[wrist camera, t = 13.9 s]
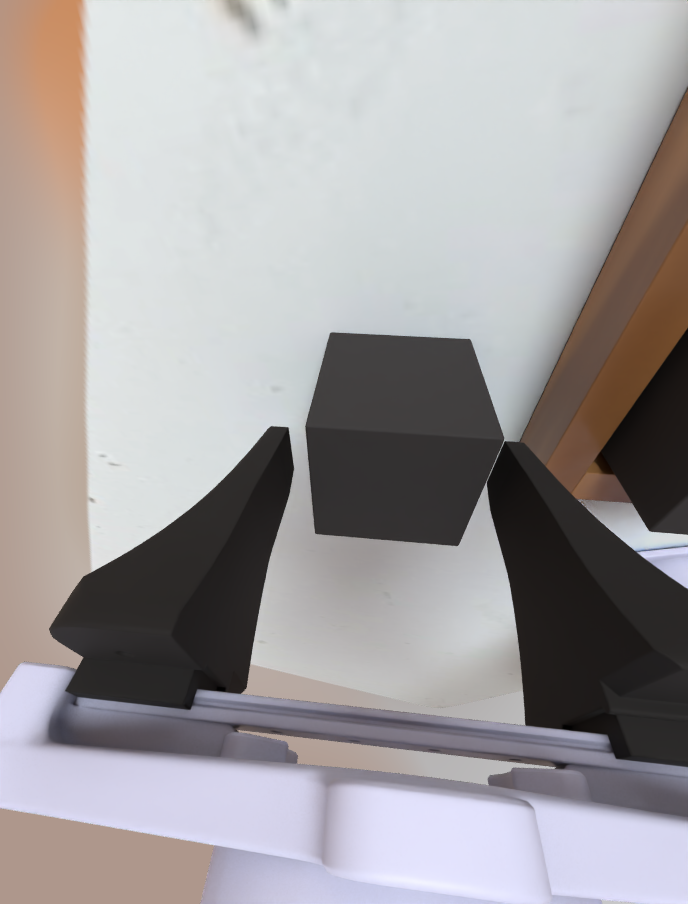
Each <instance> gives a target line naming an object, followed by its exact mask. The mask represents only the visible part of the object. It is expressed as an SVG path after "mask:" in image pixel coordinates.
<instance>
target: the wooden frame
mask: <svg viewBox="0 0 688 904" xmlns="http://www.w3.org/2000/svg"><path fill="white" fill-rule="evenodd" d="M687 328H688V89H687V92H686V94H685V96H684V98H683V100H682V102H681V104H680V106H679V108H678V110H677V113H676V115H675V117H674V119H673V121H672V123H671V125H670V127H669V129H668V131H667V134H666V136H665V138H664V140H663V142H662V144H661V146H660V148H659V150H658V153H657V155H656V157H655V159H654V161H653V163H652V165H651V167H650V169H649V171H648V174H647V176H646V178H645V180H644V182H643V184H642V186H641V188H640V190H639V192H638V195H637V197H636V199H635V201H634V203H633V205H632V207H631V209H630V211H629V214H628V216H627V218H626V220H625V222H624V224H623V226H622V228H621V230H620V232H619V235H618V237H617V239H616V241H615V243H614V245H613V247H612V249H611V251H610V253H609V256H608V258H607V260H606V262H605V264H604V266H603V268H602V270H601V272H600V275H599V277H598V279H597V281H596V283H595V285H594V287H593V289H592V291H591V293H590V296H589V298H588V300H587V302H586V304H585V306H584V308H583V310H582V312H581V314H580V317H579V319H578V321H577V323H576V325H575V327H574V329H573V331H572V333H571V336H570V338H569V340H568V342H567V344H566V346H565V348H564V350H563V352H562V354H561V357H560V359H559V361H558V363H557V365H556V367H555V369H554V371H553V373H552V375H551V378H550V380H549V382H548V384H547V386H546V388H545V390H544V392H543V394H542V397H541V399H540V401H539V403H538V405H537V407H536V409H535V411H534V413H533V415H532V418H531V420H530V422H529V424H528V426H527V428H526V430H525V432H524V434H523V436H522V439H521V441H520V442H522V443H525V444H526V445H527V446H528V447H529V448H530V450H531V451H532V452H533V453H534V454H535V455H536V456H537V457H538V458H539V460H540V461H541V462H542V463H543V464H544V465H545V466H546V467H547V468H548V470H549V471H550V472H551V473H552V474H553V475H554V476H555V477H556V478H557V479H558V480H559V482H560V483H561V484H562V485H563V486H564V487H565V488H566V489H567V490H568V491H569V492H570V493H571V494H572V495H573V496H574V497H575V498H576V499H585V500H599V501H612V502H625V503H632V502H631V500H630V499H629V497H628V495H627V494H626V492H625V490H624V489H623V487H622V486H621V484H620V482H619V481H618V479H617V477H616V476H615V474H614V472H613V471H612V469H611V467H610V466H609V464H608V462H607V461H606V459H605V458H604V456H603V454H602V453H601V450H602V448H603V447H604V446H605V444H606V443H607V441H608V440H609V439H610V437H611V436H612V434H613V433H614V431H615V430H616V429H617V427H618V426H619V424H620V423H621V422H622V420H623V419H624V417H625V416H626V414H627V413H628V412H629V410H630V409H631V407H632V406H633V405H634V403H635V402H636V400H637V399H638V397H639V396H640V395H641V393H642V392H643V390H644V389H645V388H646V386H647V385H648V383H649V382H650V380H651V379H652V378H653V376H654V375H655V373H656V372H657V371H658V369H659V368H660V366H661V365H662V364H663V362H664V361H665V359H666V358H667V356H668V355H669V354H670V352H671V351H672V349H673V348H674V347H675V345H676V344H677V342H678V341H679V339H680V338H681V337H682V335H683V334H684V332H685V331H686V330H687Z"/></svg>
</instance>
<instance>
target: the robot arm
mask: <svg viewBox="0 0 688 904" xmlns="http://www.w3.org/2000/svg"><path fill="white" fill-rule="evenodd" d="M293 471H294V465H293V458H292V450H291V443H290V435H289V428H288V427H274V426H271V427H270V428H268V429H267V431H266V432H265V433H264V434H263V436H262V437H261V438H260V439H259V440H258V442H257V443H256V444H255V445H254V446H253V448H252V449H251V450H250V451H249V452H248V453H247V455H246V456H245V457H244V458H243V459H242V460H241V461H240V462H239V463H238V464H237V466H236V467H235V468H234V469H233V470H232V471H231V472H230V473H229V474H228V475H227V476H226V477H225V478H224V479H223V480H222V481H221V482H220V483H219V484H218V485H217V486H216V487H215V488H214V489H213V490H212V491H210V492H209V493H208V494H207V495H206V496H205V497H204V498H203V499H201V500H200V501H199V502H198V503H197V504H196V505H194V506H193V507H192V508H191V509H189V510H188V511H187V512H186V513H184V514H183V515H182V516H180V517H179V518H178V519H176V520H175V521H174V522H172V523H171V524H170V525H168V526H167V527H166V528H164V529H163V530H161V531H160V532H158V533H157V534H155V535H154V536H152V537H151V538H149V539H148V540H146V541H145V542H143V543H142V544H140V545H138V546H137V547H135V548H134V549H132V550H130V551H129V552H127V553H125V554H124V555H122V556H120V557H118V558H117V559H115V560H113V561H111V562H109V563H108V564H106V565H104V566H102V567H100V568H99V569H97V570H95V571H93V572H91V573H89V574H88V575H86V576H84V577H83V578H82V579H81V581H80V582H79V583H78V585H77V586H76V587H75V589H74V590H73V592H72V593H71V595H70V597H69V598H68V600H67V601H66V603H65V604H64V606H63V607H62V609H61V611H60V612H59V614H58V615H57V617H56V618H55V620H54V622H53V623H52V625H51V627H50V628H49V630H50V633H51V635H52V637H53V638H54V639H56V640H57V641H58V642H60V643H61V644H63V645H65V646H66V647H68V648H69V649H71V650H73V651H74V652H76V653H78V654H79V655H81V656H82V657H84V658H83V660H82V661H81V663H80V665H79V667H78V669H77V670H76V669H74V668H70V667H65V666H60V665H51V664H41V663H32V662H23V663H20V664H19V665H18V667H17V668H16V670H15V671H14V673H13V675H12V676H11V678H10V679H9V680H8V682H7V683H6V685H5V686H4V688H3V689H2V691H1V692H0V808H3V809H9V810H15V811H21V812H27V813H33V814H39V815H45V816H51V817H57V818H62V819H68V820H73V821H79V822H85V823H90V824H96V825H102V826H108V827H113V828H119V829H125V830H130V831H136V832H142V833H148V834H153V835H159V836H165V837H171V838H176V839H182V840H188V841H194V842H199V843H205V844H211V845H214V849H213V853H212V857H211V861H210V865H209V870H208V874H207V878H206V883H205V887H204V891H203V895H202V900H201V904H602V902H601V900H609V901H620V902H630V903H640V904H688V547H680V548H670V549H661V550H651V551H641V552H636V551H634V550H633V549H632V548H631V547H629V546H628V545H627V544H626V543H624V542H623V541H622V540H621V539H620V538H619V537H617V536H616V535H615V534H614V533H613V532H611V531H610V530H609V529H608V528H607V527H605V526H604V525H603V524H602V523H601V522H600V521H599V520H598V519H597V518H596V517H594V516H593V515H592V514H591V513H590V512H589V511H588V510H587V509H586V508H585V507H584V506H583V505H582V504H581V503H580V502H579V501H578V500H577V499H576V498H575V497H574V496H573V495H572V494H571V493H570V492H569V491H568V490H567V489H566V488H565V487H564V486H563V485H562V484H561V483H560V482H559V480H558V479H557V478H556V477H555V476H554V475H553V474H552V473H551V472H550V471H549V470H548V468H547V467H546V466H545V465H544V464H543V463H542V462H541V461H540V460H539V458H538V457H537V456H536V455H535V454H534V453H533V452H532V451H531V450H530V448H529V447H528V446H527V445H526V444H525V443H522V442H507V441H505V442H504V444H503V447H502V449H501V451H500V454H499V456H498V458H497V460H496V463H495V465H494V467H493V470H492V472H491V474H490V476H489V479H488V481H487V488H488V497H489V504H490V511H491V514H492V518H493V522H494V526H495V529H496V533H497V537H498V540H499V544H500V548H501V551H502V555H503V558H504V562H505V566H506V569H507V573H508V578H509V582H510V588H511V594H512V600H513V607H514V613H515V620H516V628H517V635H518V643H519V652H520V662H521V671H522V683H523V694H524V707H525V725H526V726H524V725H515V724H506V723H497V722H488V721H479V720H470V719H461V718H452V717H443V716H434V715H425V714H416V713H407V712H398V711H389V710H380V709H371V708H362V707H353V706H344V705H335V704H326V703H317V702H308V701H299V700H290V699H281V698H272V697H263V696H254V695H245V694H241V693H242V692H243V691H244V690H245V689H246V687H247V681H248V674H249V667H250V661H251V655H252V648H253V642H254V636H255V631H256V625H257V619H258V614H259V608H260V603H261V598H262V593H263V587H264V583H265V578H266V573H267V568H268V563H269V559H270V555H271V552H272V548H273V545H274V542H275V539H276V536H277V532H278V529H279V526H280V523H281V520H282V517H283V513H284V510H285V507H286V504H287V500H288V497H289V493H290V488H291V483H292V477H293ZM237 730H244V731H252V732H260V733H269V734H278V735H286V736H294V737H303V738H311V739H320V740H328V741H337V742H346V743H354V744H362V745H371V746H379V747H389V748H397V749H405V750H414V751H423V752H431V753H440V754H448V755H456V756H465V757H474V758H482V759H490V760H499V761H507V762H516V763H525V764H534V765H542V766H550V767H556V768H555V769H539V768H538V769H537V768H512V770H511V772H507V773H504V774H497V775H490V776H489V777H488V784H489V785H482V784H476V783H469V782H462V781H454V780H448V779H440V778H432V777H424V776H416V775H407V774H399V773H390V772H381V771H371V770H361V769H351V768H340V767H328V766H316V765H305V764H297V759H298V755H297V754H296V752H293V751H291V750H289V749H288V744H287V742H285V741H281V740H276V739H271V738H266V737H261V736H257V735H252V734H247V733H239V732H238V731H237Z"/></svg>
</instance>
